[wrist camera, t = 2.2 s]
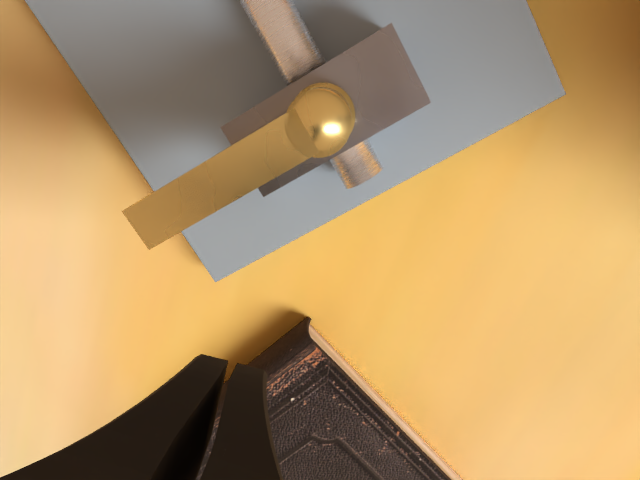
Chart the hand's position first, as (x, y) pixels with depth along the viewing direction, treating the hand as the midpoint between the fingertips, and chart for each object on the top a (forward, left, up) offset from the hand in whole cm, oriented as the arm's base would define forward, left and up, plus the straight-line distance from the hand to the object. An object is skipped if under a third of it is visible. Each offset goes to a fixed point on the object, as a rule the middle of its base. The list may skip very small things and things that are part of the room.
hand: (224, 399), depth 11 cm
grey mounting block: (+4, -5, -9) cm, 11 cm away
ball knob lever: (+4, -2, -5) cm, 7 cm away
